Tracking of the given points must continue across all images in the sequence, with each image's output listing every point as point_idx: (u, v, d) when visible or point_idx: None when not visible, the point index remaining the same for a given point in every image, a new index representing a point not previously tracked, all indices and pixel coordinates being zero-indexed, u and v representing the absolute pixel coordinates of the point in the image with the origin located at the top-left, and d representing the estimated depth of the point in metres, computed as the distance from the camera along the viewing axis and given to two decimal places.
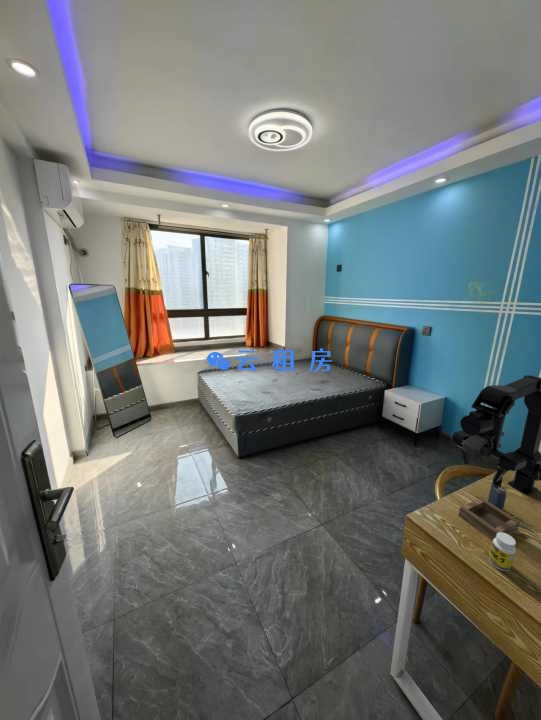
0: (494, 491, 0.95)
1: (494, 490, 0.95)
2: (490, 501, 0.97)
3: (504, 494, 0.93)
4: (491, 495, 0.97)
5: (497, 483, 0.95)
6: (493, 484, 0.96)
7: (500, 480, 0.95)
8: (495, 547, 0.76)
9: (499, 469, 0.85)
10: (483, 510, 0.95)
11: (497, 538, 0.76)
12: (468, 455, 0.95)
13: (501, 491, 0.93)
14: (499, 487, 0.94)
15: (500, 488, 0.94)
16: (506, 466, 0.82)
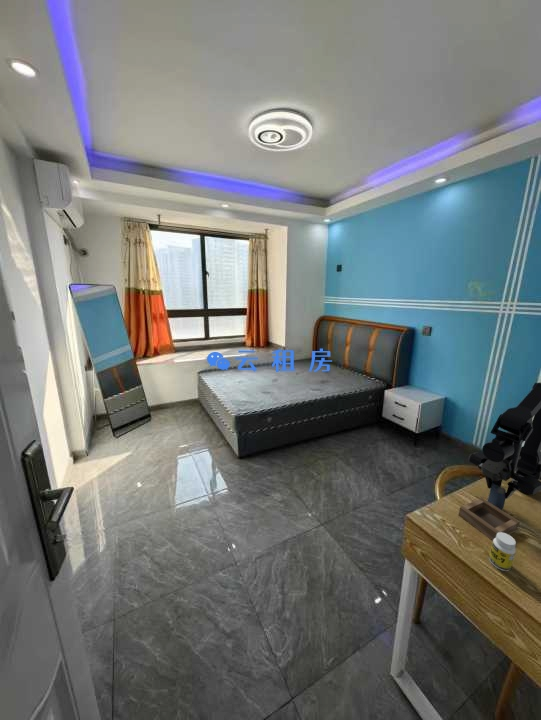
0: (494, 491, 0.95)
1: (494, 490, 0.95)
2: (490, 501, 0.97)
3: (504, 494, 0.93)
4: (491, 495, 0.97)
5: (497, 483, 0.95)
6: (493, 484, 0.96)
7: (500, 480, 0.95)
8: (494, 547, 0.76)
9: (509, 488, 0.91)
10: (483, 510, 0.95)
11: (497, 538, 0.76)
12: (491, 479, 0.97)
13: (501, 491, 0.93)
14: (499, 487, 0.94)
15: (500, 488, 0.94)
16: (524, 490, 0.86)
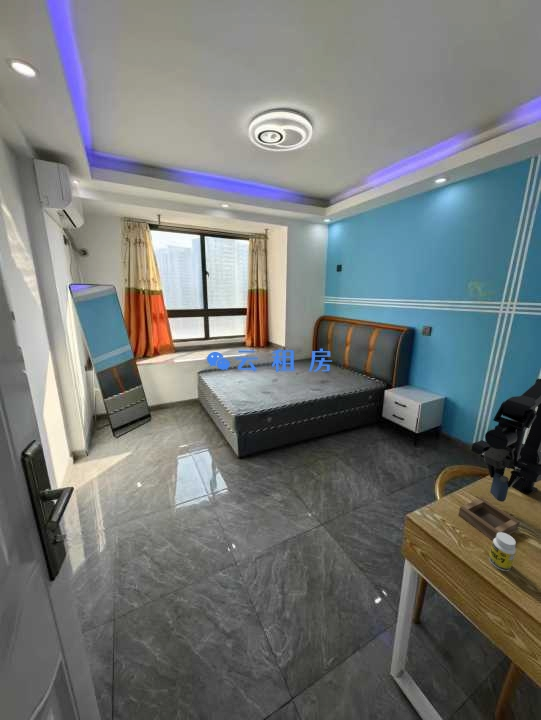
0: (497, 480, 0.94)
1: (497, 479, 0.94)
2: (493, 490, 0.96)
3: (507, 483, 0.92)
4: (494, 484, 0.96)
5: (500, 472, 0.94)
6: (496, 473, 0.95)
7: (503, 469, 0.93)
8: (495, 547, 0.76)
9: (512, 476, 0.90)
10: (483, 510, 0.95)
11: (497, 538, 0.76)
12: (494, 468, 0.96)
13: (504, 480, 0.92)
14: (502, 476, 0.93)
15: (503, 477, 0.93)
16: (527, 477, 0.85)
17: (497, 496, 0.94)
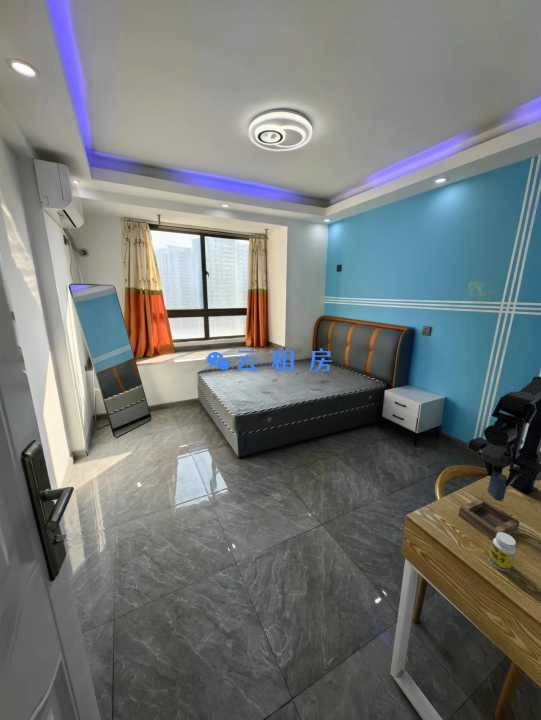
0: (494, 478, 0.90)
1: (494, 477, 0.90)
2: (490, 489, 0.92)
3: (505, 481, 0.88)
4: (491, 483, 0.92)
5: (498, 470, 0.90)
6: (493, 471, 0.91)
7: (501, 467, 0.90)
8: (494, 547, 0.76)
9: (511, 474, 0.86)
10: (483, 510, 0.95)
11: (497, 538, 0.76)
12: (492, 466, 0.92)
13: (502, 478, 0.88)
14: (500, 474, 0.89)
15: (501, 475, 0.89)
16: (526, 475, 0.81)
17: (495, 495, 0.90)
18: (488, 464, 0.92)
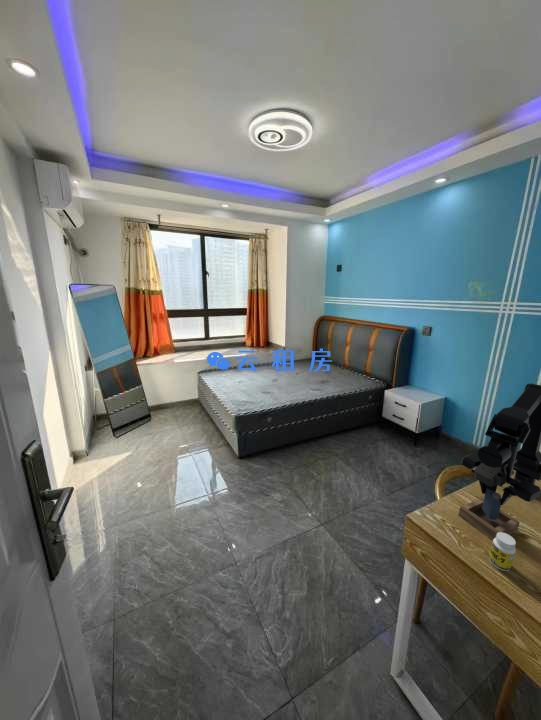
0: (489, 497, 0.89)
1: (489, 496, 0.89)
2: (485, 507, 0.90)
3: (499, 500, 0.86)
4: (485, 501, 0.90)
5: (492, 488, 0.88)
6: (487, 489, 0.89)
7: (495, 485, 0.88)
8: (495, 547, 0.76)
9: (505, 493, 0.84)
10: None
11: (497, 538, 0.76)
12: (486, 484, 0.90)
13: (496, 497, 0.86)
14: (494, 492, 0.88)
15: (495, 494, 0.87)
16: (520, 496, 0.79)
17: (489, 514, 0.88)
18: (482, 482, 0.90)
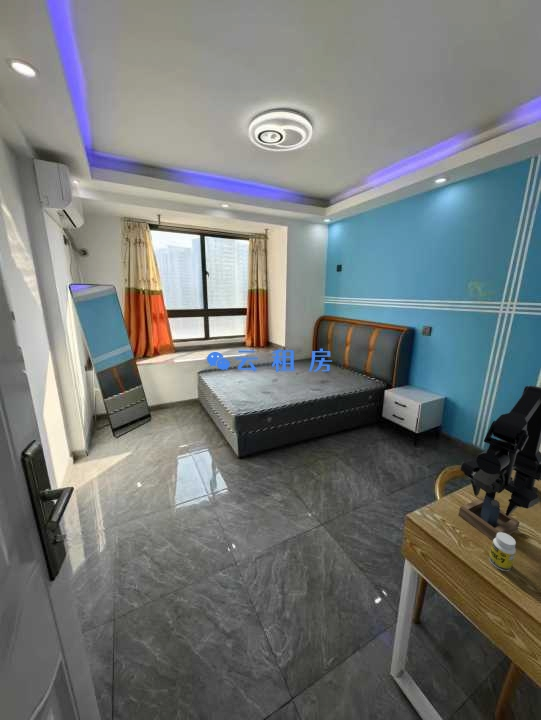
0: (487, 504, 0.89)
1: (487, 503, 0.89)
2: (483, 514, 0.91)
3: (498, 507, 0.87)
4: (484, 508, 0.90)
5: (490, 495, 0.89)
6: (486, 496, 0.90)
7: (493, 492, 0.88)
8: (495, 547, 0.76)
9: (510, 504, 0.83)
10: None
11: (497, 538, 0.76)
12: (478, 486, 0.93)
13: (494, 504, 0.87)
14: (492, 500, 0.88)
15: (493, 501, 0.88)
16: (519, 503, 0.79)
17: (487, 521, 0.89)
18: (474, 484, 0.92)
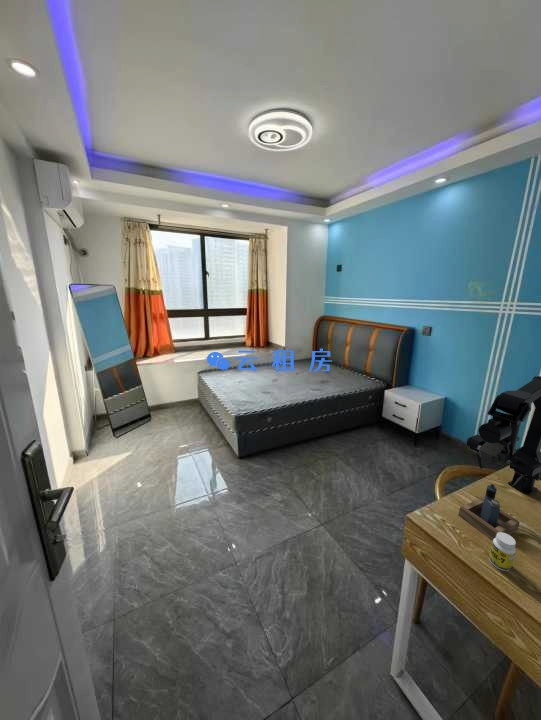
0: (487, 504, 0.89)
1: (487, 503, 0.89)
2: (483, 514, 0.91)
3: (498, 507, 0.87)
4: (484, 508, 0.90)
5: (490, 495, 0.89)
6: (486, 496, 0.90)
7: (494, 492, 0.88)
8: (494, 547, 0.76)
9: (516, 474, 0.87)
10: None
11: (497, 538, 0.76)
12: (483, 459, 0.97)
13: (494, 504, 0.87)
14: (492, 500, 0.88)
15: (493, 501, 0.88)
16: (523, 471, 0.83)
17: (487, 521, 0.89)
18: (480, 457, 0.96)
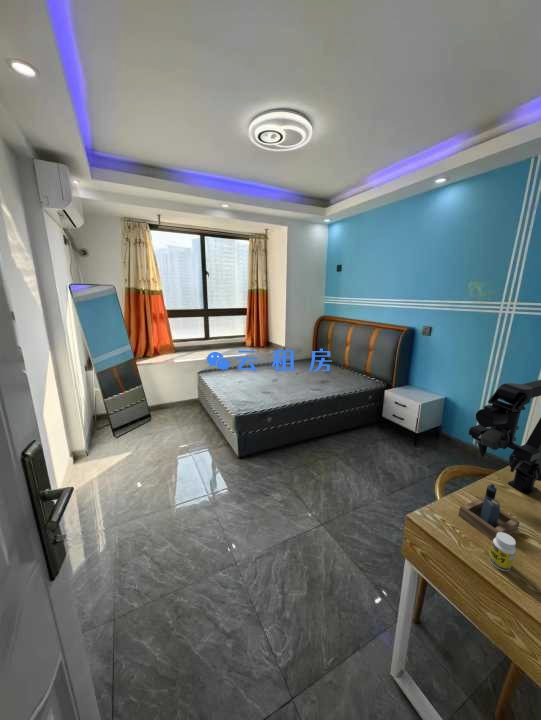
0: (487, 504, 0.89)
1: (487, 503, 0.89)
2: (483, 514, 0.91)
3: (498, 507, 0.87)
4: (484, 508, 0.90)
5: (490, 495, 0.89)
6: (486, 496, 0.90)
7: (494, 492, 0.88)
8: (494, 547, 0.76)
9: (515, 460, 0.92)
10: None
11: (497, 538, 0.76)
12: (484, 448, 1.02)
13: (494, 504, 0.87)
14: (492, 500, 0.88)
15: (493, 501, 0.88)
16: (522, 457, 0.89)
17: (487, 521, 0.89)
18: (481, 446, 1.02)
